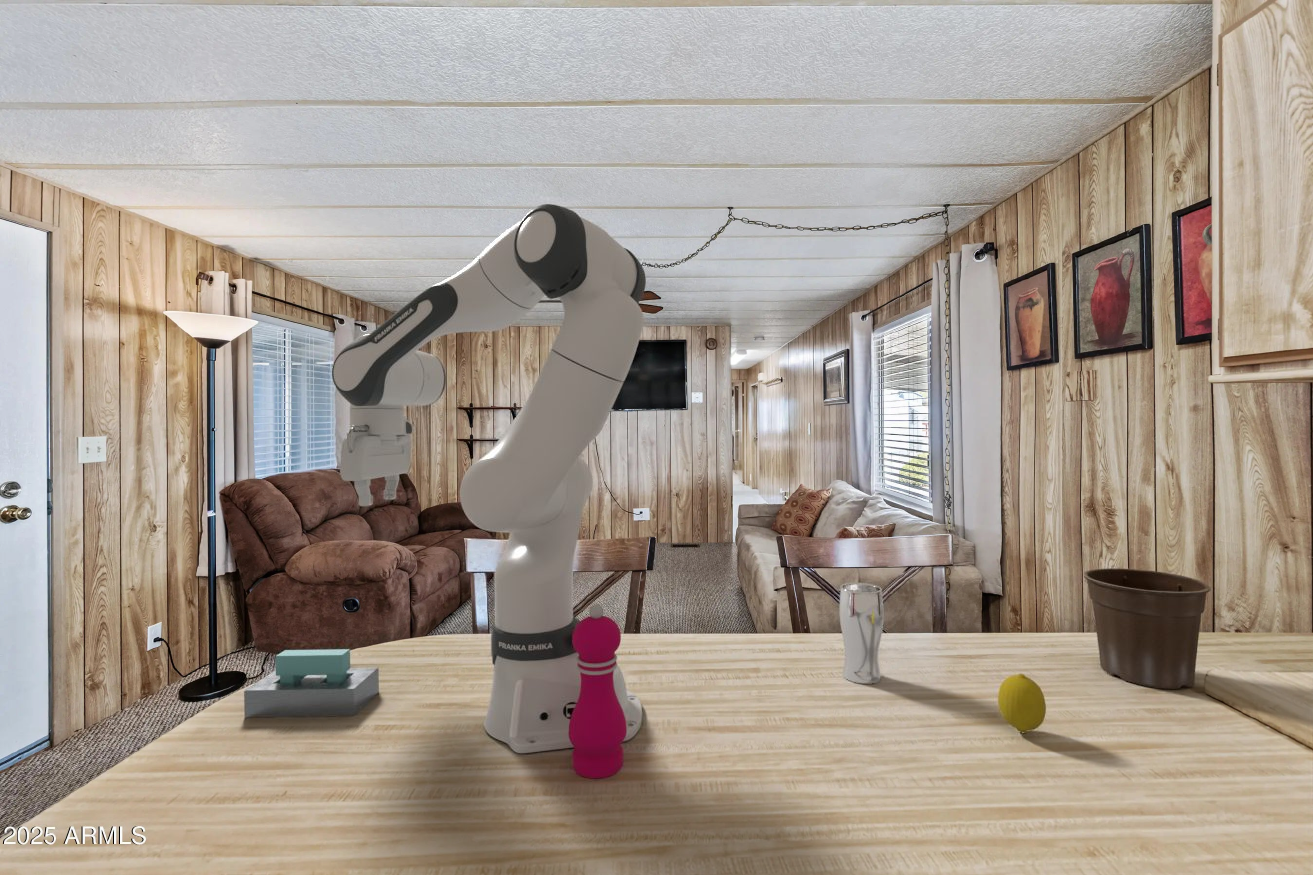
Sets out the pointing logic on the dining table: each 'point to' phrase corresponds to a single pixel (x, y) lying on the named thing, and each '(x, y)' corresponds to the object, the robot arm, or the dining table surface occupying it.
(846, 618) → the beer glass
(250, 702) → the slotted base block
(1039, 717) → the lemon
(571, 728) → the pepper mill
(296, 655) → the teal arch block
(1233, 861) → the dining table surface
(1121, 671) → the plant pot
